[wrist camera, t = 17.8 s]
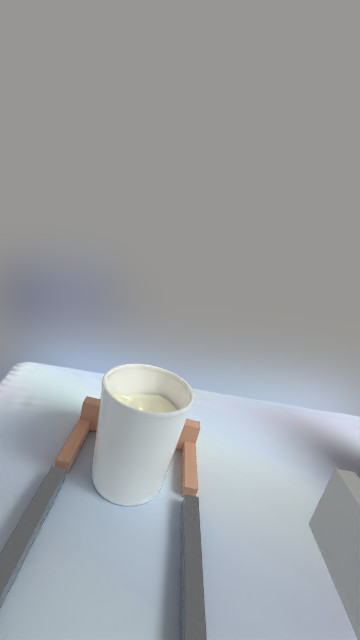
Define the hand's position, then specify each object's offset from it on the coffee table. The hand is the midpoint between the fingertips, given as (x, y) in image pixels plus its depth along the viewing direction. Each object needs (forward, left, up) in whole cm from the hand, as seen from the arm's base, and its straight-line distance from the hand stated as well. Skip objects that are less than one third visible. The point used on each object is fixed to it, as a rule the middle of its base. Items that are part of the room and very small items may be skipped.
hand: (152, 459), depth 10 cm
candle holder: (+1, -19, -20) cm, 27 cm away
